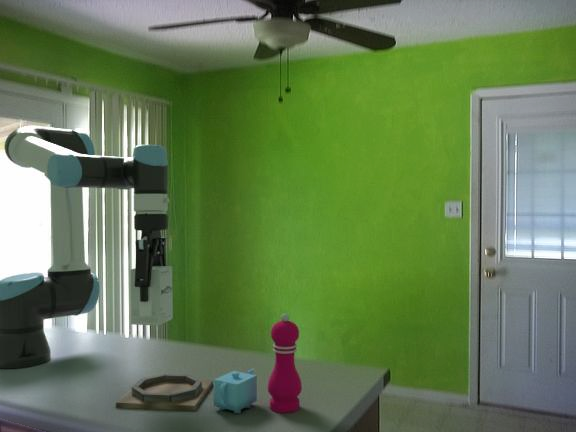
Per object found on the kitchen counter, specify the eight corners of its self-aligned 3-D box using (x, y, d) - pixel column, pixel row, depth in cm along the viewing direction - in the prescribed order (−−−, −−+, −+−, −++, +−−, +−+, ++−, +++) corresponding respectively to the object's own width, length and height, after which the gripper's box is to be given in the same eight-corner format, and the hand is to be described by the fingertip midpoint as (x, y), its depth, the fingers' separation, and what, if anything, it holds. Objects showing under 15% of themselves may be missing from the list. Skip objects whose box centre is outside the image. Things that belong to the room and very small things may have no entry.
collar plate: (115, 407, 117) (115, 395, 117) (144, 381, 134) (143, 371, 134) (194, 410, 115) (194, 398, 115) (213, 384, 132) (213, 373, 132)
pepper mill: (266, 402, 121) (267, 310, 120) (299, 401, 121) (300, 310, 121) (268, 414, 113) (268, 317, 113) (303, 413, 114) (304, 316, 113)
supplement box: (160, 326, 123) (159, 269, 123) (129, 324, 124) (128, 268, 124) (174, 319, 130) (173, 265, 130) (144, 318, 132) (143, 265, 131)
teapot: (242, 395, 125) (242, 362, 125) (265, 400, 122) (265, 366, 122) (208, 412, 115) (209, 376, 114) (232, 418, 111) (232, 381, 111)
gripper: (151, 213, 116) (152, 321, 117) (180, 212, 137) (181, 305, 137) (117, 213, 117) (118, 321, 117) (150, 213, 137) (151, 304, 138)
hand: (152, 312), depth 127 cm, fingers closed on supplement box, 8 cm apart
